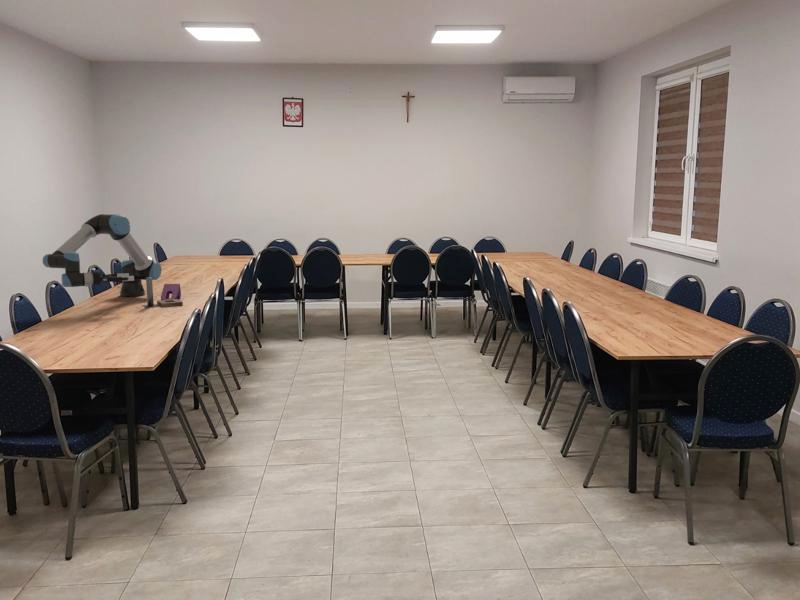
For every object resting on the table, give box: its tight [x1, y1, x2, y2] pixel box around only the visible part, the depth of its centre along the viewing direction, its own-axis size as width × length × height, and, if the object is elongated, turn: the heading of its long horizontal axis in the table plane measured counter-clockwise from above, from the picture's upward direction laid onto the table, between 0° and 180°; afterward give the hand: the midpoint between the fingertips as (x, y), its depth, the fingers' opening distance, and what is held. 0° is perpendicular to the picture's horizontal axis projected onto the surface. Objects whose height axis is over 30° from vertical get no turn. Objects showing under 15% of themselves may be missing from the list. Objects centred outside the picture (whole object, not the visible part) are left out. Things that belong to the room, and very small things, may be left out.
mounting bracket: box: [160, 283, 182, 300], centre depth 451 cm, size 9×8×18 cm
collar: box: [156, 299, 184, 308], centre depth 433 cm, size 12×12×2 cm
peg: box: [145, 277, 154, 307], centre depth 427 cm, size 3×3×17 cm
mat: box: [141, 303, 160, 309], centre depth 428 cm, size 10×8×1 cm
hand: (131, 276), depth 420 cm, fingers open, 13 cm apart
